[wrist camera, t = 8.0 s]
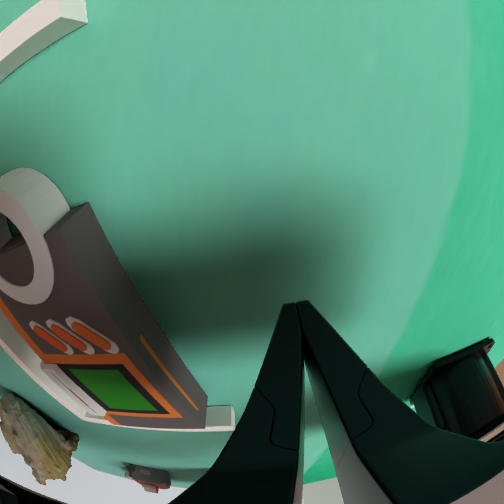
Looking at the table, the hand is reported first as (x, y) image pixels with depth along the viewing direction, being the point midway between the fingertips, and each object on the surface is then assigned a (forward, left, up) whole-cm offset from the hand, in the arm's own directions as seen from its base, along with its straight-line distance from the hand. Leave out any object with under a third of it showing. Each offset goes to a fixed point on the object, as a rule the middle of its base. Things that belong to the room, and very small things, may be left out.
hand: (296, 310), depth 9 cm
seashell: (+31, +18, -2) cm, 35 cm away
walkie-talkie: (+29, +45, -2) cm, 54 cm away
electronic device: (+9, +1, -2) cm, 9 cm away
